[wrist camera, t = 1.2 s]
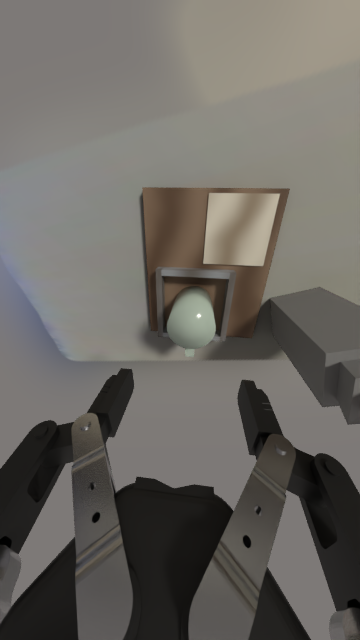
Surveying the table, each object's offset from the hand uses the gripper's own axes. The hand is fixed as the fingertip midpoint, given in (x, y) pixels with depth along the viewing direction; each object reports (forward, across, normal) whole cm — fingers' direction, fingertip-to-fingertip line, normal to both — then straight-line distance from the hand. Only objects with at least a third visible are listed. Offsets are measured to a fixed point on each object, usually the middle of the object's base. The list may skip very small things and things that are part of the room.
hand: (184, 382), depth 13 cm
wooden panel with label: (+17, -2, -4) cm, 18 cm away
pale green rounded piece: (+16, 0, +1) cm, 16 cm away
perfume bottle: (+17, -16, +1) cm, 23 cm away
